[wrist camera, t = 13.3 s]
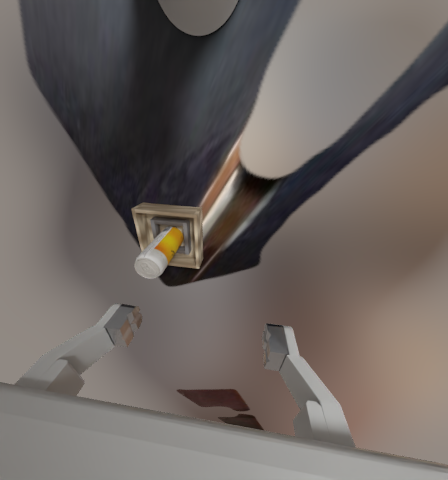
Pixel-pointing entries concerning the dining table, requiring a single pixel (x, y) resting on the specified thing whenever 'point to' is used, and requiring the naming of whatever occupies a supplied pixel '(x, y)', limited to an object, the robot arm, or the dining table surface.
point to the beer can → (159, 253)
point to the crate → (182, 217)
